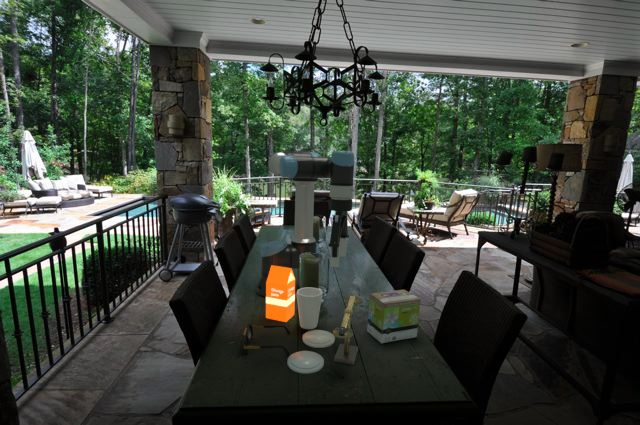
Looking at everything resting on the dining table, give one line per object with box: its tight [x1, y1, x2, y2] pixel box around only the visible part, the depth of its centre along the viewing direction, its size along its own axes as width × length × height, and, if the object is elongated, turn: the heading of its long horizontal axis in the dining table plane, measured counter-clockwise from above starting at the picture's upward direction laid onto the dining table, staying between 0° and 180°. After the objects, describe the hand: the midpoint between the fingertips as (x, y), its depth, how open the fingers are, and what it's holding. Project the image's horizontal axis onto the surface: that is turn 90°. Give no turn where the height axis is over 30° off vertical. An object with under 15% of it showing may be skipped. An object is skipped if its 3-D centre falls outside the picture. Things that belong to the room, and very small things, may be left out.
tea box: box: [366, 289, 421, 344], centre depth 128 cm, size 15×10×15 cm, turn 114°
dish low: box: [286, 350, 325, 375], centre depth 109 cm, size 11×11×1 cm
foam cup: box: [296, 286, 324, 330], centre depth 133 cm, size 10×9×13 cm
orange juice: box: [265, 265, 296, 323], centre depth 139 cm, size 8×9×20 cm
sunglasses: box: [242, 323, 291, 357], centre depth 119 cm, size 14×15×5 cm
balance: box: [332, 295, 363, 365], centre depth 113 cm, size 22×6×17 cm, turn 165°
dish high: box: [302, 329, 336, 349], centre depth 124 cm, size 11×11×1 cm
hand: (338, 261), depth 122 cm, fingers open, 13 cm apart
